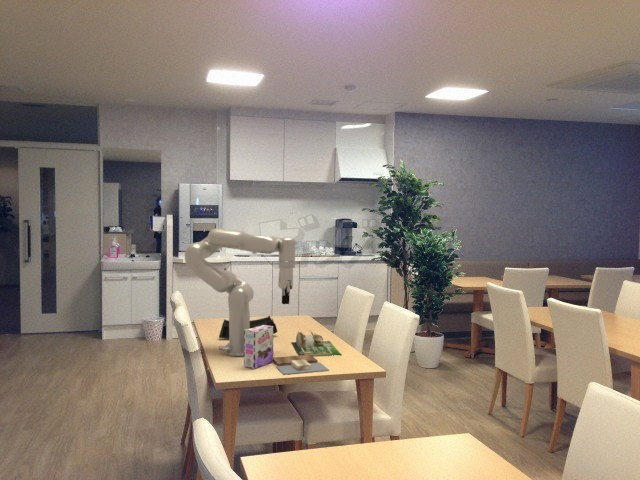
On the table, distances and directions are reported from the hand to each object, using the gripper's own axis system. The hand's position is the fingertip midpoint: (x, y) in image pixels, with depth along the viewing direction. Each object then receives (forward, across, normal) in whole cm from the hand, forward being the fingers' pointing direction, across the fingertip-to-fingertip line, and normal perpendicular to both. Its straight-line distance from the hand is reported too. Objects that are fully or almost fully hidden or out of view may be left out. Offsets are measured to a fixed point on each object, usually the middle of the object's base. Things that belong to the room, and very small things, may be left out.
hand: (285, 303), depth 262 cm
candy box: (+24, +13, -14) cm, 31 cm away
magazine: (+25, -39, -9) cm, 47 cm away
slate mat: (+24, +25, +2) cm, 34 cm away
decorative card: (+25, -9, +18) cm, 32 cm away
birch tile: (+22, +24, +2) cm, 33 cm away
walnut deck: (+24, +14, +2) cm, 28 cm away
